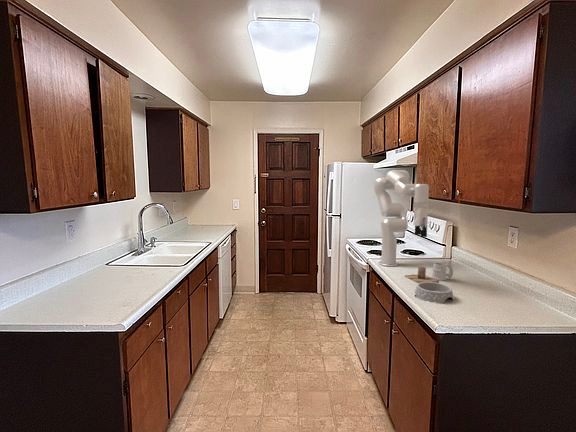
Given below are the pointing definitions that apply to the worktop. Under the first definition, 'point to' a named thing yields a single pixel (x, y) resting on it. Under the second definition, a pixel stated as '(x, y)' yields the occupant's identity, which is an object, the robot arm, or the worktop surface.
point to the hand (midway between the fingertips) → (420, 235)
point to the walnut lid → (421, 276)
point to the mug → (442, 271)
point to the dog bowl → (431, 296)
